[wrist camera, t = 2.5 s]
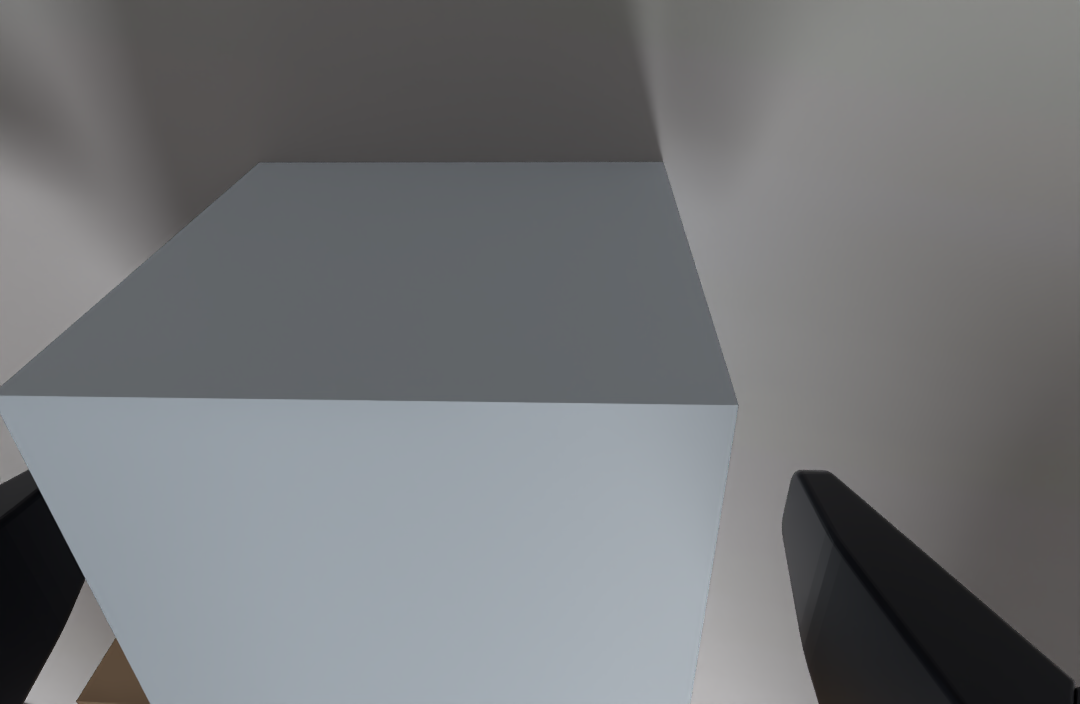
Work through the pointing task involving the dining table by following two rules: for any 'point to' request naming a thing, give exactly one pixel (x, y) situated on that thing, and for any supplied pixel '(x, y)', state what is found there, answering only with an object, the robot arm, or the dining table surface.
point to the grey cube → (397, 440)
